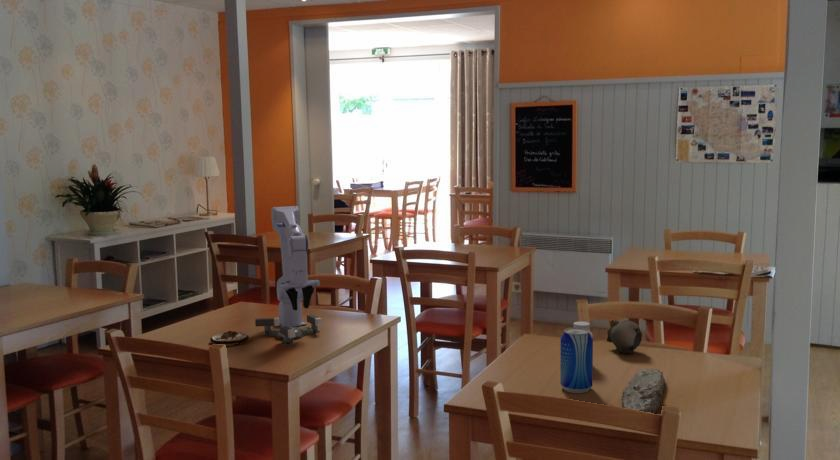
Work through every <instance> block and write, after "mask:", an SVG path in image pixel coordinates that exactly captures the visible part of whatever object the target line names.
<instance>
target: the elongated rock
mask: <svg viewBox="0 0 840 460" xmlns="http://www.w3.org/2000/svg"><path fill="white" fill-rule="evenodd" d="M663 373H664V372H663V371H661V370H659V369H657V368H644V369H642V370H638V371H637V372H635V373H634V375H633V378H632V379H631V380H630V382H628V385H627V386H626V388H624V389H623V391H622V395H621V408H622V407H623V408H628V409H633V410H639V411H644V412H651V413H655V414H656V412H657V411H658V409H659V408H660V406H661V404H660V403H661V401H662V397H663V396H664V394H663V393H664V392H663V390H664V387H665V383H664V382H665V380H666V379H665V377H664V374H663Z"/></svg>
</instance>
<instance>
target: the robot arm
mask: <svg viewBox="0 0 840 460" xmlns="http://www.w3.org/2000/svg"><path fill="white" fill-rule="evenodd" d="M270 215H271V216H270V217H271V227H272V230H273V231H275V232H277V235H278V237H279V244H280V254H281V255H280V256H281V263H282V272H283V273H282V274H283V275H282V276H281V277H279V278H278V279H277V281H276V295H277V300H278V301H279V303H278V307H277V308H278V309H277V310H278V318H279V326H283V325H285V326H287V327H301V326H305V325H307V323H308V322H305V321H303V311H302V310H303V309H302V308H304V309H309V305H310V302H311V298H312V296H313V294H314V292H315V288H314V287H320V286H321V281H320V280H319V279H312V280H309V277H308V276H309V275H308V272H309V271H308V255H307V254H308V253H307V252H309V239H308V235H307V234H305V233H303V230H302V228H301V227H302V226H300V225H299V221H300V219H301V218H300V217H301V215H300V209H299V206H297V205H292V206H291V205H289V206H273V207H272V208H271V210H270ZM302 302H303V307H302Z"/></svg>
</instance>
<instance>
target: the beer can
mask: <svg viewBox="0 0 840 460" xmlns="http://www.w3.org/2000/svg"><path fill="white" fill-rule="evenodd" d="M589 331H590V329H589V330H587V329H584V328H574V327H568V328H565V329H564V330H563V334H562V335H561V337H560V355H559V356H560V367H559V368H560V371H559V372H560V375H559V376H560V386H561V387H562V389H563V390H564V391H566V392H568V393H570V394H571V393H572V394H584V393H588V392H589V391H590V389H591V388H592V387H593V383H594V381H593V379H594V378H593V376H594V374H593V369H594V367H593V366H594V365H593V364H594V363H593V362H594V360H593V358H594V338H593V339H592V337H591V335H590V334H589Z"/></svg>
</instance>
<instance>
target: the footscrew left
mask: <svg viewBox="0 0 840 460" xmlns="http://www.w3.org/2000/svg"><path fill="white" fill-rule="evenodd" d="M306 323H309V324H311V325H310V326H311V327H310V328H313V331H318V330H319V329H318V327H321V326H323V318H321V317H319V316H316V315H314V314H306Z"/></svg>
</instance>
